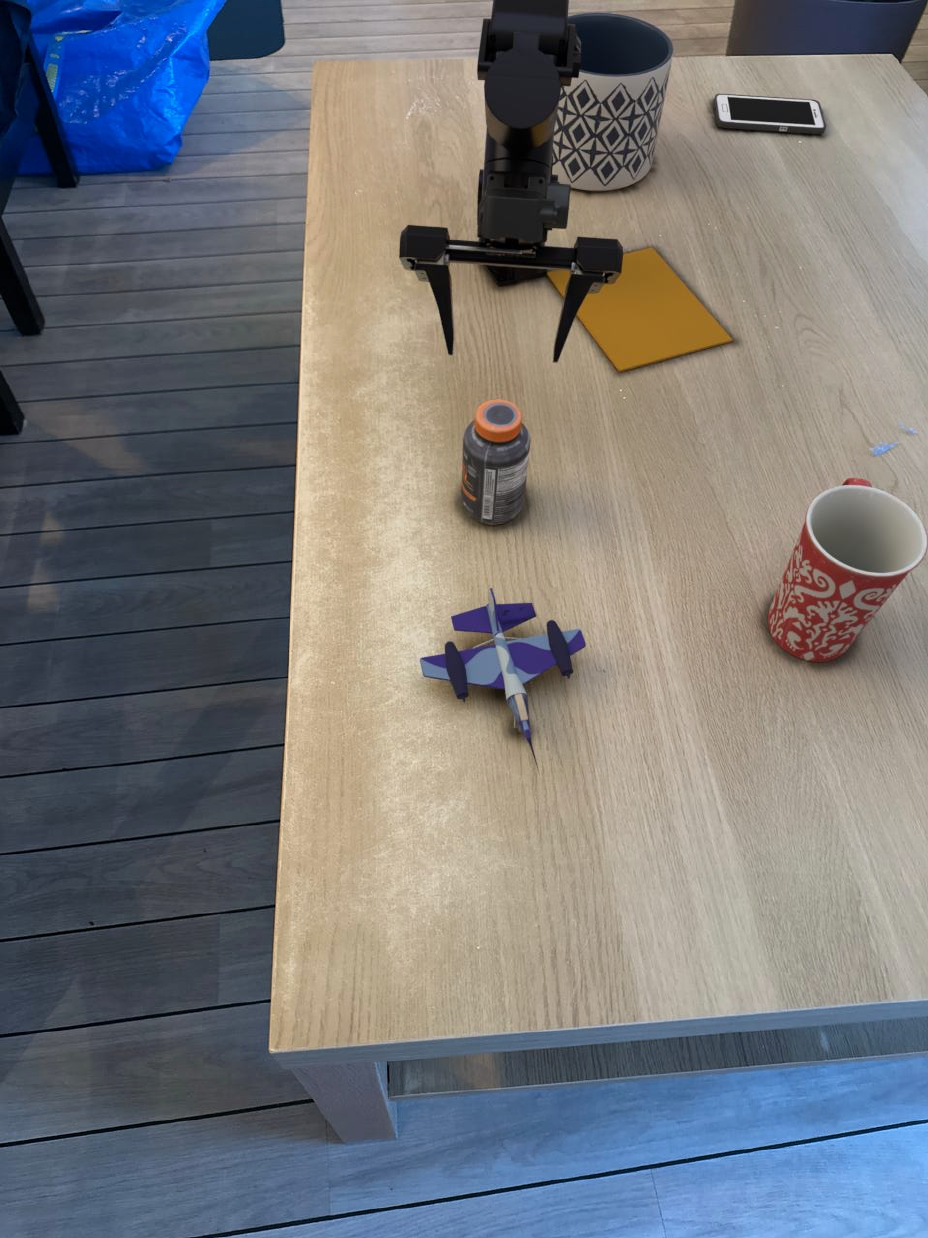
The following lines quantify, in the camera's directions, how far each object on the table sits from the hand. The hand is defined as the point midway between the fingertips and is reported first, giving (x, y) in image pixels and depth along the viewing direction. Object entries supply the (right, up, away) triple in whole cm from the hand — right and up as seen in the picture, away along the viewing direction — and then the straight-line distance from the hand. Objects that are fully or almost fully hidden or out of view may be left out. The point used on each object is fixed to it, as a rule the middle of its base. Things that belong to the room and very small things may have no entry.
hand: (502, 358), depth 84 cm
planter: (+13, +37, +41) cm, 57 cm away
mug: (+27, -22, 0) cm, 35 cm away
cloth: (+16, +12, +24) cm, 31 cm away
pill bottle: (-1, -12, +7) cm, 14 cm away
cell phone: (+39, +46, +49) cm, 77 cm away
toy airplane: (0, -29, -5) cm, 29 cm away
